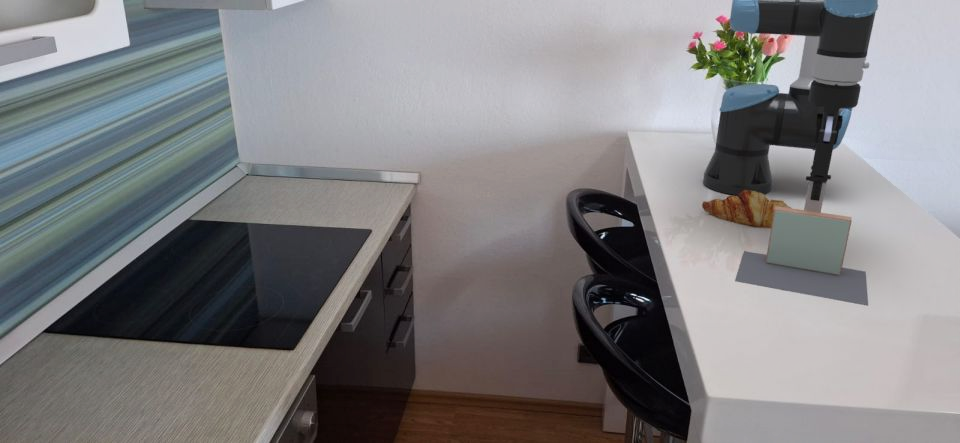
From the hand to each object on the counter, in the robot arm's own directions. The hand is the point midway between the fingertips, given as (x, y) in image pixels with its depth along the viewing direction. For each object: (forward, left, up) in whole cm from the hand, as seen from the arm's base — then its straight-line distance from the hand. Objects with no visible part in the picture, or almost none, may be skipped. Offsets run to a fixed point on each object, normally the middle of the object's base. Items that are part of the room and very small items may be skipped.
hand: (811, 215), depth 131 cm
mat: (+9, 0, -9) cm, 13 cm away
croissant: (-16, -10, -9) cm, 21 cm away
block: (+5, 0, -8) cm, 9 cm away
